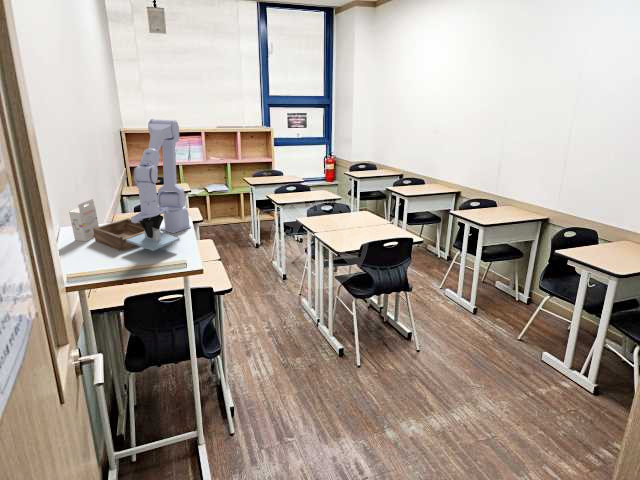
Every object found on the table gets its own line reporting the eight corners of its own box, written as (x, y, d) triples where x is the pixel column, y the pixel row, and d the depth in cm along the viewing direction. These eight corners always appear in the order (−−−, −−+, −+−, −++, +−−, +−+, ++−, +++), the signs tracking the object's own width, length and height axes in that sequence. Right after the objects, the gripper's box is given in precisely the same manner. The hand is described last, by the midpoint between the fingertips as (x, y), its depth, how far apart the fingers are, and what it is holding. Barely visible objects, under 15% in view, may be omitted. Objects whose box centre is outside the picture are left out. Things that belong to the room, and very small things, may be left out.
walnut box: (130, 230, 177) (128, 218, 175) (155, 238, 169) (154, 226, 167) (95, 241, 165) (93, 228, 163) (121, 251, 157) (119, 237, 155)
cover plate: (153, 231, 165) (152, 220, 164) (179, 240, 159) (178, 227, 157) (126, 241, 156) (124, 229, 154) (152, 250, 149) (151, 237, 148)
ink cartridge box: (89, 232, 173) (83, 197, 167) (100, 234, 172) (94, 198, 166) (74, 240, 165) (66, 203, 160) (85, 242, 164) (78, 204, 159)
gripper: (157, 193, 159) (161, 228, 164) (123, 203, 148) (128, 240, 153) (171, 196, 156) (174, 232, 161) (137, 206, 144) (142, 244, 149)
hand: (153, 236), depth 157 cm, fingers closed on cover plate
